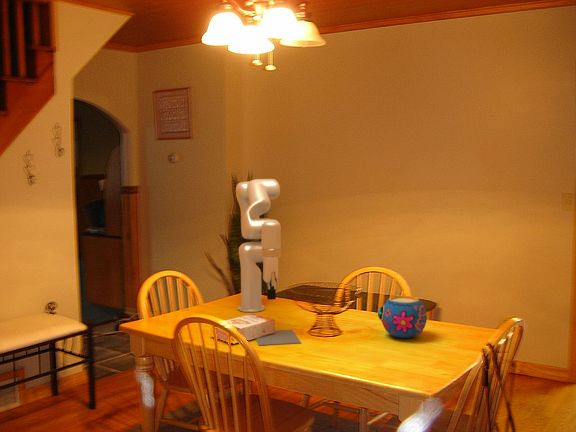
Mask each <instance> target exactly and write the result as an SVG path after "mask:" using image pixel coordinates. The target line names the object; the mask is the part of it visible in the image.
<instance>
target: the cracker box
mask: <svg viewBox="0 0 576 432" xmlns="http://www.w3.org/2000/svg"><path fill="white" fill-rule="evenodd" d="M225 321H227V322H229V323H230V324H231V325H232V326H234V327H235V328H236V329H237V331H238V332H239V333H240V334H241V335H243V336H244V337H245V338H246V339H247V340H248V341H251V340H256V338H258V337H262V336H265V335H269V334H272V333H275V330H276V329H275V319H273V318H270V317H265V316H263V315H259V314H256V313H250V314H246V315H242V316H239V317H235V318H230V319H225ZM215 329H216V334H217V338H218V339H223V340H225V341H227V340H228V335H227V333H225V332H224V331H222V330H220V329H218V328H215ZM218 339H217V340H218ZM231 340H232V341H234V339H233V338H231Z"/></svg>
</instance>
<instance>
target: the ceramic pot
mask: <svg viewBox="0 0 576 432" xmlns="http://www.w3.org/2000/svg"><path fill="white" fill-rule="evenodd" d="M377 317H378V319H379V320H380V322H381V323H382V326H383V327H384V329H385V331H386V332H387V333H388V334H390V335H391V336H393V337H396V338H400V339H411V338H414V337H417V336H419V335H420V334H421V333H422V332H423V331H424V329H425V327H426V324H427V320H428V315H427V309H426V307H425V305H424V304H423V301H421V300H420V298H418V297H414V296H410V295H409V296H408V295H407V296H406V295H397V296H391V297H389V298H388V299H387V300H386V301H385V302H384V304H383V305H382V306H380V307H379V308H378V310H377Z"/></svg>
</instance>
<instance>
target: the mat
mask: <svg viewBox="0 0 576 432" xmlns="http://www.w3.org/2000/svg"><path fill="white" fill-rule="evenodd" d="M255 341H256V342H257V345H258V346H259V347H262V346H263V347H264V346H281V345H283V346H284V345H297V344H302V341H301V340H300V339H299V337H298V336H297V334H296V333H295V331H294V330H293V329H281V330H278V329H277V330H276V329H275V333H272V334H269V335H265V336H262V337H258V338H255Z"/></svg>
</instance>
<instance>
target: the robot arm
mask: <svg viewBox="0 0 576 432" xmlns="http://www.w3.org/2000/svg"><path fill="white" fill-rule="evenodd" d="M280 193H281V185H280V184H279V181H277V180H276V179H274V178H255V179H252V180H249V181H241V182H239V183H237V184H236V187H235V196H236V200H237V203H238V205H239V210H240V229H241V231H240V232H241V236H242V238H243V239H245V240H261V241H249V242H243V243H242V244H240V246H239V247H238V257H239V264H240V294H241V295H240V298H241V299H240V301H241V302H240V303H241V305H238V307H237V310H238V311H240V312H243V313H258V312H262V311H265V309H266V306H265V305H263V304H262V301H263V300H262V298H263V297H262V279H263V281H264V282H265V283H266V285H267V286H266V287H267V289H266V297H267V300H276V298H277V289H276V285H277V283H278V282H279V258H281V255H282V253H281V250H282V249H281V247H282V246H281V245H282V243H281V236H282V235H281V231H282V229H281V223H280V222H279V221H278V220H277V219H272V218H268V217H267V218H260V216H262V215H264V214H266V213H267V212H269V210H270V209H271V204H272V203H271V201H272V200H275V199H278V197H280ZM259 263H263V266H262V268H263V269H262V271H261V268H260V267H259V266H258V265H257V264H259Z"/></svg>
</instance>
